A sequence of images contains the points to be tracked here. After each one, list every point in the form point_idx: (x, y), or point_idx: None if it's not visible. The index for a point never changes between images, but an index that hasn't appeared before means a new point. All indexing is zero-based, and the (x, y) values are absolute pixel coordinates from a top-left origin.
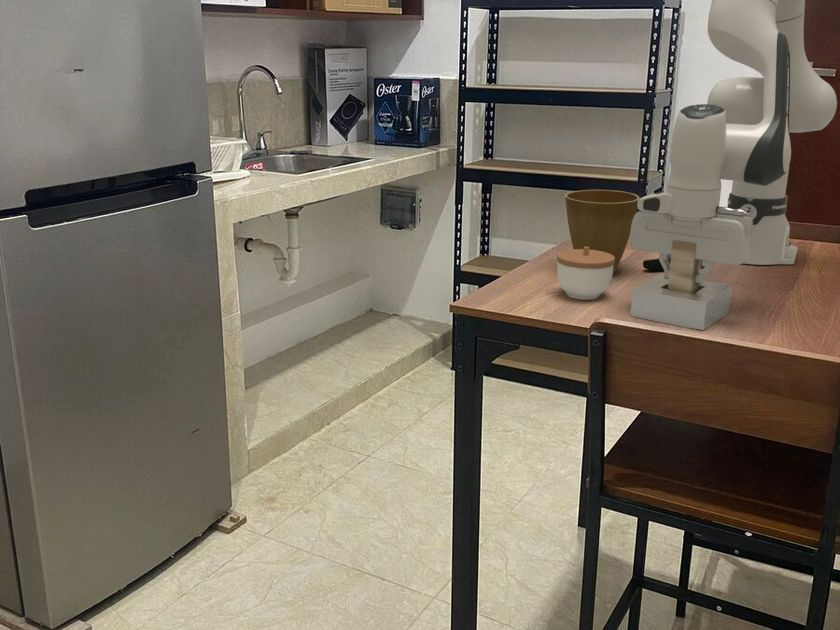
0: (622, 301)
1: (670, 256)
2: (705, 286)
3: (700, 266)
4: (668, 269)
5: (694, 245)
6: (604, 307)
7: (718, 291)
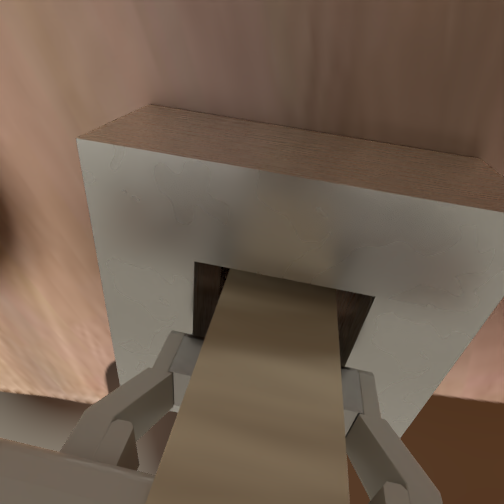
0: (63, 205)
1: (130, 442)
2: (374, 296)
3: (343, 417)
4: (172, 396)
5: None
6: (66, 285)
7: (442, 348)
